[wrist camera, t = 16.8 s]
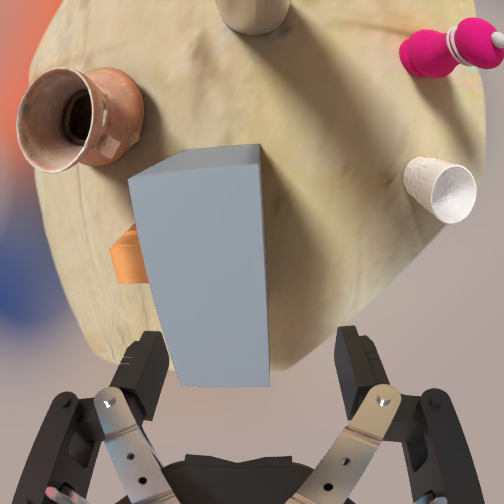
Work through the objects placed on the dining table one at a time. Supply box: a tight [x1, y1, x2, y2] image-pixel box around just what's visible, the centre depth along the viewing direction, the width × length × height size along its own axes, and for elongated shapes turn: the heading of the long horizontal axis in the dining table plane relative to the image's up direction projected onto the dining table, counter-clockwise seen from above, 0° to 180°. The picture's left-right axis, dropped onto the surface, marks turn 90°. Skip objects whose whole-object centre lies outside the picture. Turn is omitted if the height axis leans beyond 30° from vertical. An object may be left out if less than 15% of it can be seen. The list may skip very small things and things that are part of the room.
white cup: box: [403, 156, 476, 224], centre depth 36 cm, size 8×8×10 cm
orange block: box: [109, 223, 149, 283], centre depth 41 cm, size 5×5×11 cm
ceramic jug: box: [16, 67, 144, 173], centre depth 31 cm, size 18×14×14 cm
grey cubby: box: [128, 144, 270, 387], centre depth 37 cm, size 11×24×19 cm, turn 4°
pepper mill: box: [399, 17, 504, 78], centre depth 23 cm, size 7×7×20 cm
